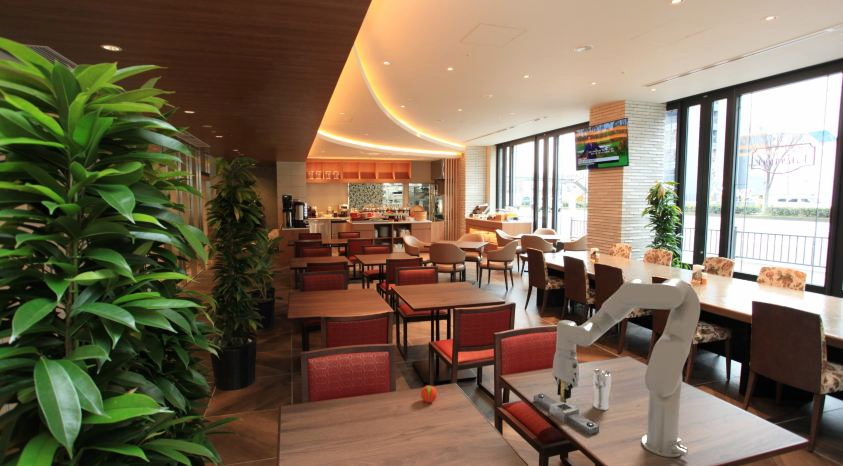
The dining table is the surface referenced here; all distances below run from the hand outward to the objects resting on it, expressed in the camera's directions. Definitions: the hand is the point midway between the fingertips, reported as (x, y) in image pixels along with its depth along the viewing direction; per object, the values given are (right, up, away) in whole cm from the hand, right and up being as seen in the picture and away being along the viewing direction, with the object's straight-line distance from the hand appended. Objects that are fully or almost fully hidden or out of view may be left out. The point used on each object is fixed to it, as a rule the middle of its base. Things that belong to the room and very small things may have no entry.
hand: (564, 395), depth 174 cm
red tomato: (-54, -7, +12) cm, 56 cm away
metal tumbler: (+18, -8, +8) cm, 21 cm away
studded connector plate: (0, -8, +1) cm, 8 cm away
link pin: (0, -2, 0) cm, 2 cm away
